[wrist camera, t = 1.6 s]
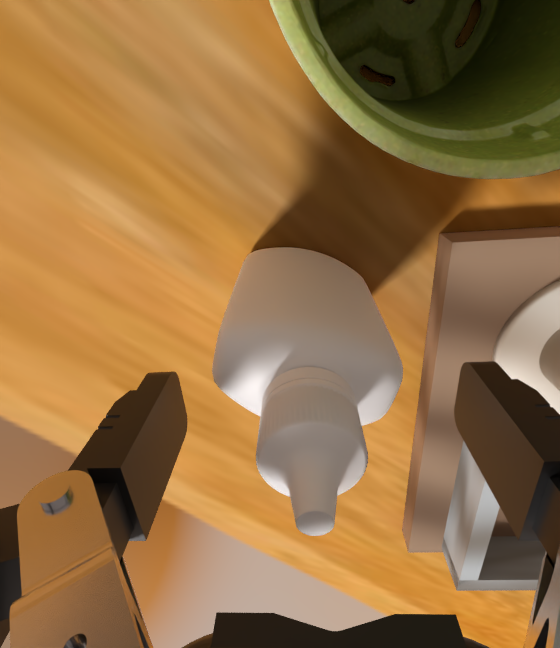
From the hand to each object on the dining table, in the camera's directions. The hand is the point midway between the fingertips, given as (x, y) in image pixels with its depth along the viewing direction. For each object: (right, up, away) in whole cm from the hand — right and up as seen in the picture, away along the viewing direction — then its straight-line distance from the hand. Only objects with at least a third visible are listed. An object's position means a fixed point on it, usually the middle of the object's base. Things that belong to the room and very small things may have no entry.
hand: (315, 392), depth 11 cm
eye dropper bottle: (0, +4, +7) cm, 8 cm away
